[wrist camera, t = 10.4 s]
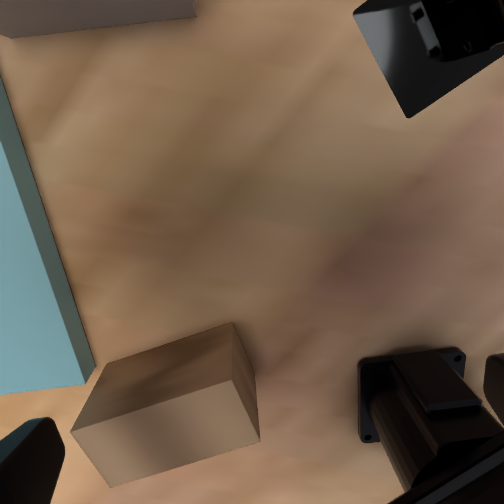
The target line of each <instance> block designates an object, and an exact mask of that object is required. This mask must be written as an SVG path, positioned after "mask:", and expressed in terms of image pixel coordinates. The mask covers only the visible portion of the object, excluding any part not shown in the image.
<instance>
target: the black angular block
mask: <svg viewBox="0 0 504 504" xmlns="http://www.w3.org/2000/svg"><path fill="white" fill-rule="evenodd" d="M353 17H354V19H355V21H356V23H357V25H358V27H359V29H360V31H361V32H362V34H363V36H364V38H365V40H366V42H367V44H368V46H369V48H370V50H371V52H372V53H373V55H374V57H375V59H376V61H377V63H378V65H379V67H380V69H381V71H382V72H383V74H384V76H385V78H386V80H387V82H388V84H389V86H390V88H391V90H392V91H393V93H394V95H395V97H396V99H397V101H398V103H399V105H400V107H401V109H402V111H403V112H404V114H405V116H406V118H411V117H413V116H414V115H416V114H417V113H419V112H420V111H422V110H423V109H425V108H426V107H428V106H429V105H431V104H432V103H434V102H435V101H436V100H438V99H439V98H441V97H442V96H444V95H445V94H447V93H448V92H450V91H451V90H453V89H454V88H456V87H457V86H459V85H460V84H462V83H463V82H465V81H466V80H468V79H469V78H470V77H472V76H473V75H475V74H476V73H478V72H479V71H481V70H482V69H484V68H485V67H487V66H488V65H490V64H491V63H493V62H494V61H496V60H497V59H499V58H500V57H502V56H503V55H504V0H367V1H366V2H365V3H363V4H362V5H361V6H359V7H358V8H357V9H356V10H355V11H354V12H353Z"/></svg>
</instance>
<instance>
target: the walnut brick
mask: <svg viewBox="0 0 504 504" xmlns="http://www.w3.org/2000/svg"><path fill="white" fill-rule="evenodd" d="M70 433H71V435H72V436H73V437H74V439H75V440H76V441H77V443H78V444H79V446H80V447H81V448H82V450H83V451H84V452H85V454H86V455H87V457H88V458H89V459H90V461H91V462H92V463H93V465H94V466H95V468H96V469H97V470H98V472H99V473H100V474H101V476H102V477H103V479H104V480H105V481H106V483H107V484H108V485H109V487H110V488H113V487H116V486H119V485H122V484H125V483H129V482H132V481H135V480H138V479H142V478H145V477H148V476H151V475H155V474H158V473H161V472H164V471H167V470H171V469H174V468H177V467H180V466H184V465H187V464H190V463H193V462H197V461H200V460H203V459H206V458H209V457H213V456H216V455H219V454H222V453H226V452H229V451H232V450H235V449H239V448H242V447H245V446H248V445H252V444H255V443H258V442H260V431H259V419H258V408H257V396H256V385H255V374H254V372H253V369H252V367H251V365H250V362H249V360H248V358H247V356H246V353H245V351H244V349H243V346H242V344H241V342H240V339H239V337H238V335H237V332H236V330H235V328H234V326H233V323H232V322H230V323H227V324H224V325H221V326H218V327H215V328H212V329H209V330H206V331H203V332H200V333H198V334H195V335H192V336H189V337H186V338H183V339H180V340H177V341H174V342H171V343H168V344H165V345H162V346H159V347H156V348H153V349H150V350H147V351H144V352H141V353H138V354H135V355H132V356H129V357H126V358H123V359H120V360H117V361H114V362H111V363H108V364H106V366H105V368H104V370H103V372H102V373H101V375H100V377H99V379H98V381H97V383H96V385H95V386H94V388H93V390H92V392H91V394H90V396H89V398H88V399H87V401H86V403H85V405H84V407H83V409H82V411H81V412H80V414H79V416H78V418H77V420H76V422H75V423H74V425H73V427H72V429H71V431H70Z"/></svg>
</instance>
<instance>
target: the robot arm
mask: <svg viewBox="0 0 504 504" xmlns="http://www.w3.org/2000/svg"><path fill="white" fill-rule="evenodd" d="M455 356H456V357H455ZM454 357H455V358H454ZM465 361H466V355H465V354H464V352H463V351H462V350H460V349H459V348H449V349H441V350H433V351H425V352H417V353H409V354H401V355H393V356H385V357H377V358H369V359H364V360H362V361H360V363H359V364H358V434H359V437H360V439H361V441H362V442H364V443H373V442H380V441H381V443H382V445H383V447H384V449H385V451H386V454H387V456H388V458H389V460H390V462H391V464H392V466H393V468H394V471H395V473H396V475H397V477H398V479H399V481H400V483H401V485H402V488H403V490H404V492H405V493H404V494H402V495H400V496H399V497H397V498H396V499H394V500H393V501H391V502H389V503H388V504H504V428H503V427H502V426H501V424H500V423H499V422H498V421H497V420H496V419H495V418H494V417H493V416H492V414H491V413H490V412H489V411H488V410H487V409H486V408H485V407H484V406H483V404H482V400H481V399H480V397H479V396H478V395H477V394H476V393H475V392H474V391H473V390H472V389H471V388H470V387H469V385H468V384H467V383H466V382H465V381H464V380H463V377H464V369H465ZM368 366H370V367H369V368H368V369H365V368H366V367H368ZM483 390H484V394H485V397H486V399H487V401H488V402H489V404H490V406H491V407H492V409H493V410H494V412H495V413H496V415H497V416H498V418H499V420H500V421H501V423H502V424H503V426H504V353H500V354H493V355H490V356H488V358H487V359H486V365H485V375H484V384H483ZM64 457H65V446H64V443H63V441H62V438H61V436H60V434H59V431H58V429H57V427H56V424H55V422H54V420H53V419H52V418H50V417H43V418H36V419H31V420H28V421H26V422H25V423H24V424H22V425H21V426H20V427H18V428H17V429H15V430H14V431H13V432H11V433H10V434H9V435H7V436H6V437H5V438H3V439H2V440H0V504H50V503H51V500H52V496H53V493H54V490H55V487H56V484H57V480H58V477H59V474H60V471H61V468H62V465H63V461H64Z"/></svg>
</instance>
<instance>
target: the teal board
mask: <svg viewBox="0 0 504 504" xmlns="http://www.w3.org/2000/svg"><path fill="white" fill-rule="evenodd" d="M95 367H96V366H95V363H94V360H93V357H92V354H91V351H90V348H89V345H88V342H87V339H86V336H85V333H84V330H83V326H82V323H81V320H80V317H79V314H78V311H77V308H76V305H75V302H74V299H73V296H72V293H71V290H70V287H69V284H68V281H67V278H66V275H65V272H64V269H63V266H62V263H61V260H60V257H59V253H58V250H57V247H56V244H55V241H54V238H53V235H52V232H51V229H50V226H49V223H48V220H47V217H46V214H45V211H44V208H43V205H42V202H41V199H40V196H39V193H38V190H37V187H36V184H35V180H34V177H33V174H32V171H31V168H30V165H29V162H28V159H27V156H26V153H25V150H24V147H23V144H22V141H21V138H20V135H19V132H18V129H17V126H16V123H15V120H14V117H13V114H12V111H11V107H10V104H9V101H8V98H7V95H6V92H5V89H4V86H3V83H2V80H1V77H0V395H4V394H12V393H20V392H28V391H36V390H43V389H51V388H59V387H67V386H75V385H83V384H86V382H87V381H88V379H89V377H90V375H91V374H92V372H93V370H94V369H95Z"/></svg>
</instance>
